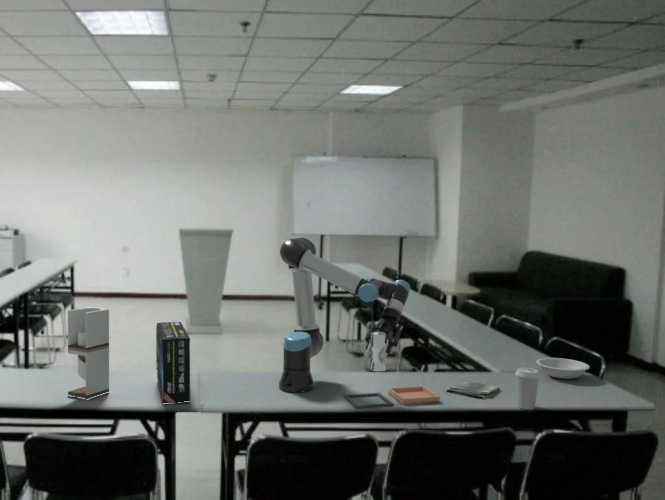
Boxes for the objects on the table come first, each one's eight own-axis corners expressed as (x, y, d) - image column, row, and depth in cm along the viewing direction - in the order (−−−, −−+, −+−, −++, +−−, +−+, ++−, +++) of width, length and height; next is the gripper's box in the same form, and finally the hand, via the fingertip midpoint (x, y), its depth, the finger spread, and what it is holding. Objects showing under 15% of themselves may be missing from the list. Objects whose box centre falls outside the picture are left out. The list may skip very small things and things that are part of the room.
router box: (155, 381, 278) (155, 321, 277) (181, 380, 282) (181, 321, 280) (162, 406, 245) (162, 338, 243) (191, 403, 249) (191, 336, 247)
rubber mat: (355, 408, 246) (355, 406, 246) (343, 396, 262) (343, 394, 262) (393, 405, 251) (393, 403, 251) (379, 394, 266) (379, 392, 266)
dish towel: (462, 384, 287) (462, 377, 287) (500, 391, 277) (500, 384, 277) (444, 393, 272) (445, 386, 272) (484, 401, 262) (484, 393, 261)
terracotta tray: (402, 405, 252) (403, 399, 252) (388, 393, 267) (388, 388, 267) (439, 402, 257) (439, 396, 256) (422, 391, 272) (423, 385, 272)
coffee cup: (540, 411, 248) (541, 374, 247) (514, 409, 249) (516, 372, 249) (537, 404, 257) (538, 368, 256) (513, 402, 259) (514, 366, 258)
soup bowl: (597, 384, 289) (598, 370, 289) (544, 383, 289) (545, 369, 289) (577, 371, 313) (578, 358, 312) (529, 370, 313) (529, 357, 313)
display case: (90, 389, 265) (90, 306, 262) (109, 393, 260) (109, 309, 258) (68, 396, 254) (67, 310, 252) (87, 400, 250) (87, 312, 247)
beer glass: (389, 368, 258) (389, 332, 257) (383, 372, 251) (383, 335, 250) (373, 366, 261) (373, 330, 260) (367, 370, 254) (367, 333, 253)
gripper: (416, 319, 263) (399, 366, 250) (374, 315, 273) (356, 360, 260) (411, 308, 258) (394, 356, 245) (368, 304, 268) (350, 350, 255)
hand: (374, 358), depth 253 cm, fingers closed on beer glass, 6 cm apart
